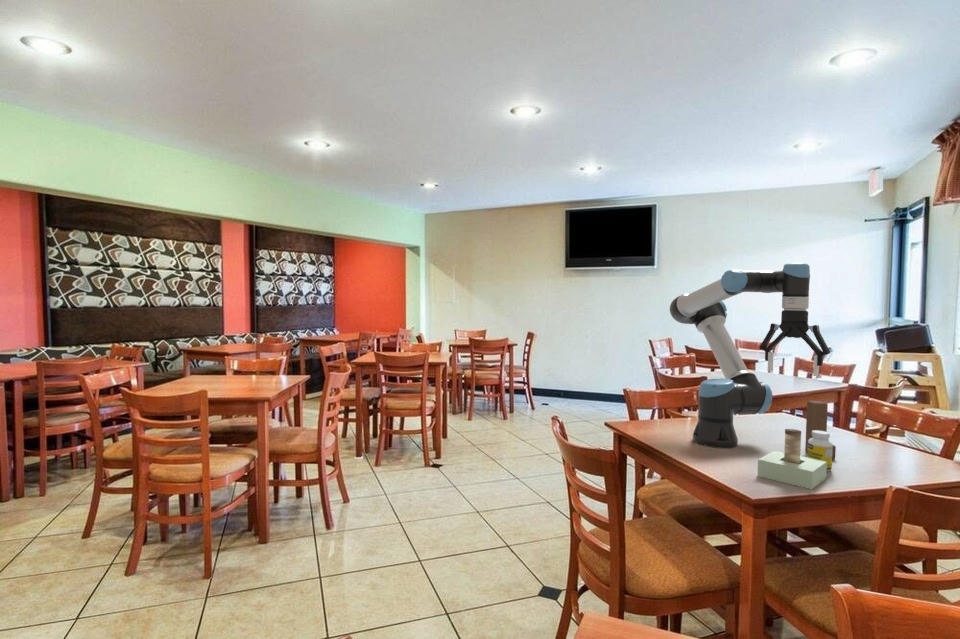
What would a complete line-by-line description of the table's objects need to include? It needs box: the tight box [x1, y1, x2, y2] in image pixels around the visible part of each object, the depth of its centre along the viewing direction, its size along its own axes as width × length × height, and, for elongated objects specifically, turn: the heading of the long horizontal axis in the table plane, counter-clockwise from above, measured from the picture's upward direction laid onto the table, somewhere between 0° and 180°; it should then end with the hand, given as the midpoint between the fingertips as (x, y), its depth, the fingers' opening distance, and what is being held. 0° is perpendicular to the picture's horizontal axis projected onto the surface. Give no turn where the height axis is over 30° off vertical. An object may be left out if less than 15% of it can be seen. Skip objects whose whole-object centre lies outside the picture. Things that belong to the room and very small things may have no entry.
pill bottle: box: [806, 430, 834, 472], centre depth 156 cm, size 6×6×12 cm
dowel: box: [783, 428, 802, 465], centre depth 147 cm, size 4×4×14 cm
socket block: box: [757, 450, 827, 490], centre depth 148 cm, size 14×14×5 cm
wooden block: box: [804, 400, 837, 460], centre depth 170 cm, size 9×4×18 cm, turn 0°
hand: (792, 373), depth 166 cm, fingers open, 13 cm apart
